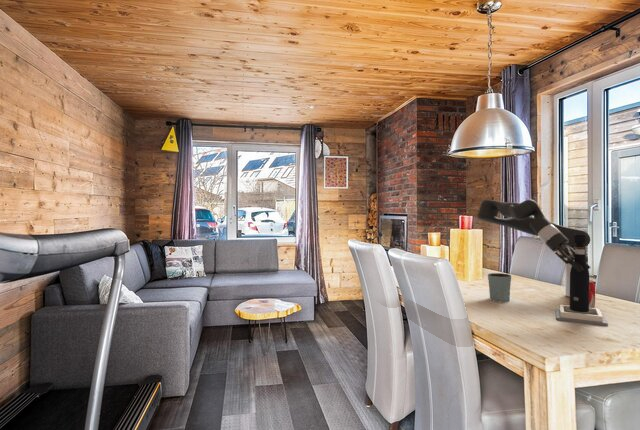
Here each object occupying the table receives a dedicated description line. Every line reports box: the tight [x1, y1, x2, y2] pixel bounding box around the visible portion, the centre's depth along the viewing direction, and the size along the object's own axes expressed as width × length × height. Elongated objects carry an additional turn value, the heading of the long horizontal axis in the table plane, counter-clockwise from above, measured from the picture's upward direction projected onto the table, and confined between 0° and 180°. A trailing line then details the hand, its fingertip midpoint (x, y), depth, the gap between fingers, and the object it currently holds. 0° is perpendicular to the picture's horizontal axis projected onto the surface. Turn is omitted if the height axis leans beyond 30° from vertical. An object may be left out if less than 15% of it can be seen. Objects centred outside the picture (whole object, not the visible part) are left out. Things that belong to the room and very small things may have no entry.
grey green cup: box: [487, 272, 512, 303], centre depth 184 cm, size 10×10×12 cm
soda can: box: [589, 279, 596, 308], centre depth 169 cm, size 7×7×12 cm
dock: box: [555, 304, 609, 327], centre depth 153 cm, size 16×16×3 cm
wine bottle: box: [569, 234, 590, 312], centre depth 153 cm, size 6×6×30 cm
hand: (584, 269), depth 152 cm, fingers closed on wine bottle, 5 cm apart
